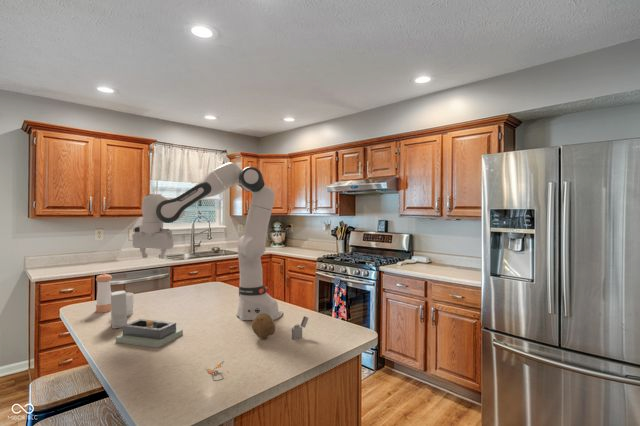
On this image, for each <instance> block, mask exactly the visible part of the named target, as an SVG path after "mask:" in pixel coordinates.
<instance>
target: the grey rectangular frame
mask: <svg viewBox="0 0 640 426" xmlns="http://www.w3.org/2000/svg"><path fill="white" fill-rule="evenodd" d="M148 320H149V319H143V318H139V319H137V320H134V321H132V322H128V323H127V324H126V325H124V326H123V327H122V334H123V335H126V336H134V337H142V338H150V339H158V340H161V339H163V338H165V337H167V336H168V335H170V334H172V333H174V332H176V329H177V322H174V321H173V322H172V321H161V320H154V324H153V325H154V328H150V327H147V325H146V321H148Z"/></svg>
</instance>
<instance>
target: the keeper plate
mask: <svg viewBox="0 0 640 426" xmlns="http://www.w3.org/2000/svg"><path fill="white" fill-rule="evenodd" d="M147 320H148V321H146V325H147V327H150V328H154V325H153V324H154V321H155V319H154V320H153V319H147ZM183 335H184V330H183V329H182V328H176V332H174V333H172V334H170V335H168V336H167V337H165V338H163V339H161V340H158V339H150V338H142V337H134V336H126V335H123V333H121V334H120V335H118V336H115V343H117V344H118V343H119V344H127V345H136V346H141V347H142V346H143V347H149V348H150V347H151V348H160V347H162V346H164V345H167V344H168V343H169V342H172V341H174V340H175V339H177V338H179V337H181V336H183Z"/></svg>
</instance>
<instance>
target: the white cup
mask: <svg viewBox="0 0 640 426" xmlns="http://www.w3.org/2000/svg"><path fill="white" fill-rule="evenodd" d="M134 295H135V294H134V293H133V292H126V307H127V317H129V316H131V315H133V314H134Z"/></svg>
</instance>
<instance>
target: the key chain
mask: <svg viewBox="0 0 640 426" xmlns="http://www.w3.org/2000/svg"><path fill="white" fill-rule="evenodd" d="M224 363H225V361H224V360H223V361H221V362H220V363H219V364H216V365H217V366H218V368H221V364H222V365H223V364H224ZM215 368H216V369H217V367H216V366H215ZM206 370H208V371H207V374H211V376H212V377H211V378H212V381H213V380H214V382H217V381H216V380H217V379H215V376H218V375H219V376H221V377H222V378H219V379H218V381H221V380H223V379H225V377H224V376H223V374H222V372H219V370H216V371H215V370H214V369H209V368H208V369H206V368H205V371H206ZM214 371H215V372H216V373H215V372H214ZM226 371H227V372H228V371H229V370H226ZM213 373H214V374H213ZM228 373H229V372H228ZM217 374H218V375H217Z"/></svg>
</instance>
